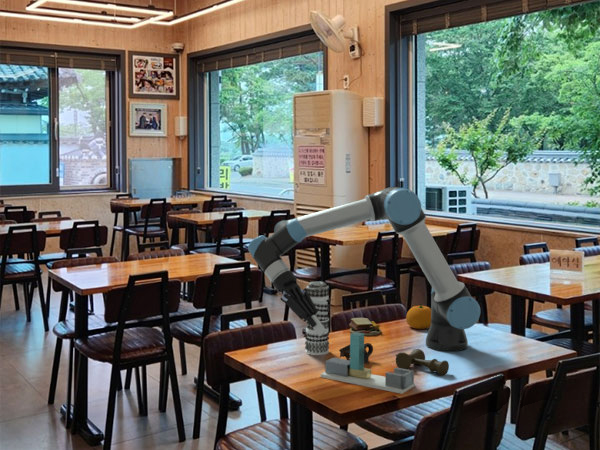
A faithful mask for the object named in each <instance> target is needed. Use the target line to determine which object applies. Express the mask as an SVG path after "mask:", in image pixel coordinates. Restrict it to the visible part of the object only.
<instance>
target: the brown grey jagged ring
mask: <svg viewBox="0 0 600 450" xmlns="http://www.w3.org/2000/svg"><path fill="white" fill-rule="evenodd" d="M367 349H368V351H367ZM339 352H340V354H339V357H340V358H341V357H343V358H344V357H345V358H346V360H350V344H348V345H346V346H344V347H342V348H340V349H339ZM373 353H374V346H373V344H371V343H370V342H367V343H364V366H365V365H366V364H369V363H370V361H369V358H370V356H371V355H372V354H373Z"/></svg>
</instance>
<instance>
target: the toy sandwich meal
mask: <svg viewBox="0 0 600 450" xmlns="http://www.w3.org/2000/svg"><path fill="white" fill-rule="evenodd" d="M348 327H349V332H350V334H352V333H354V332H359V333H364V337H365V336H366V337H369V336H370V337H371V336H377V335H379V334H381V332H382V329H381V328H380V324H377V323H376V322H375V321H373V320H372V321H370V320H369V318H365V317H353V318H350V323H349V324H348Z"/></svg>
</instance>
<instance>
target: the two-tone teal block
mask: <svg viewBox="0 0 600 450" xmlns="http://www.w3.org/2000/svg"><path fill="white" fill-rule="evenodd" d="M364 344H365V336H364V333H359V332H354V333H350V335H349V345H350V358H349V360H350V367H348V375H350V376H355V377H360V378H365V379H368V378H370V377H371V374H372V369H371V368H366V367H365V365H364Z"/></svg>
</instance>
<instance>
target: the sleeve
mask: <svg viewBox="0 0 600 450" xmlns="http://www.w3.org/2000/svg"><path fill="white" fill-rule="evenodd" d="M324 363H325V368H324V372H325V373H329V374H334V375H339V376H344V377H348V367H350V359H345V358H338V357H332V358H330V359H326V360H325V362H324Z"/></svg>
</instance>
